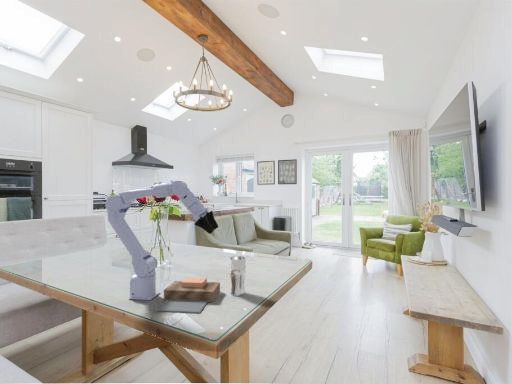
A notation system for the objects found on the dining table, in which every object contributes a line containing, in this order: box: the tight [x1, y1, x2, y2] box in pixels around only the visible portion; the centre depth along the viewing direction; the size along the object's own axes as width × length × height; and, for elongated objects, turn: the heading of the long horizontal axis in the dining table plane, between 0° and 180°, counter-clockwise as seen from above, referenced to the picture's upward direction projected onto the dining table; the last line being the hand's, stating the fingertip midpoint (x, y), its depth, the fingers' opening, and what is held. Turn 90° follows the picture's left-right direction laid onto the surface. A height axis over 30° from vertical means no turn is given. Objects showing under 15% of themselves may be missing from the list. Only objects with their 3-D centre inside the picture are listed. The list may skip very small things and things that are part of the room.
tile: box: [181, 277, 208, 288], centre depth 116 cm, size 9×6×2 cm, turn 83°
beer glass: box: [228, 255, 247, 297], centre depth 117 cm, size 7×7×15 cm
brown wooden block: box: [163, 280, 221, 303], centre depth 114 cm, size 20×11×4 cm, turn 83°
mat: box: [156, 299, 209, 314], centre depth 104 cm, size 16×10×1 cm, turn 83°
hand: (214, 230), depth 114 cm, fingers open, 7 cm apart
